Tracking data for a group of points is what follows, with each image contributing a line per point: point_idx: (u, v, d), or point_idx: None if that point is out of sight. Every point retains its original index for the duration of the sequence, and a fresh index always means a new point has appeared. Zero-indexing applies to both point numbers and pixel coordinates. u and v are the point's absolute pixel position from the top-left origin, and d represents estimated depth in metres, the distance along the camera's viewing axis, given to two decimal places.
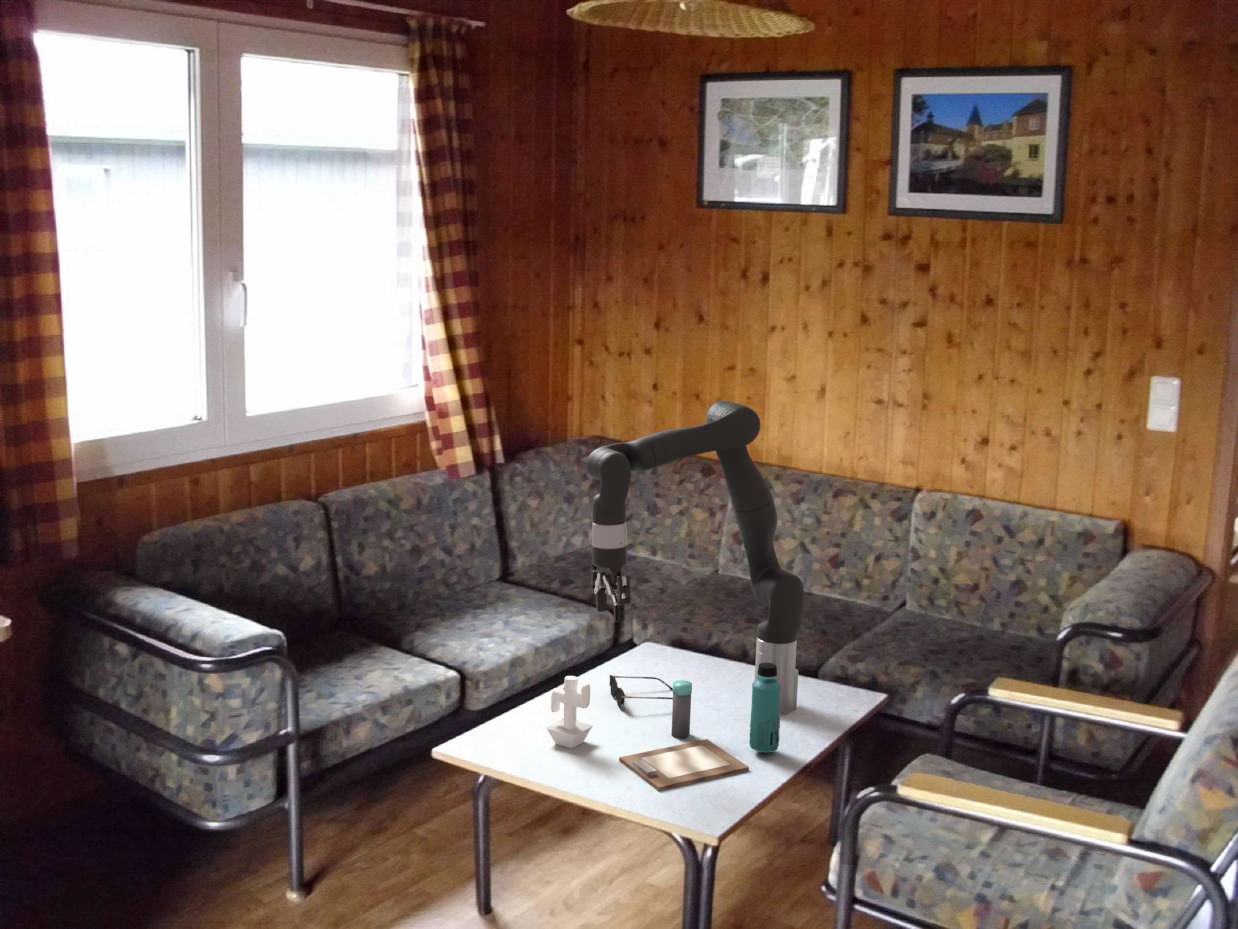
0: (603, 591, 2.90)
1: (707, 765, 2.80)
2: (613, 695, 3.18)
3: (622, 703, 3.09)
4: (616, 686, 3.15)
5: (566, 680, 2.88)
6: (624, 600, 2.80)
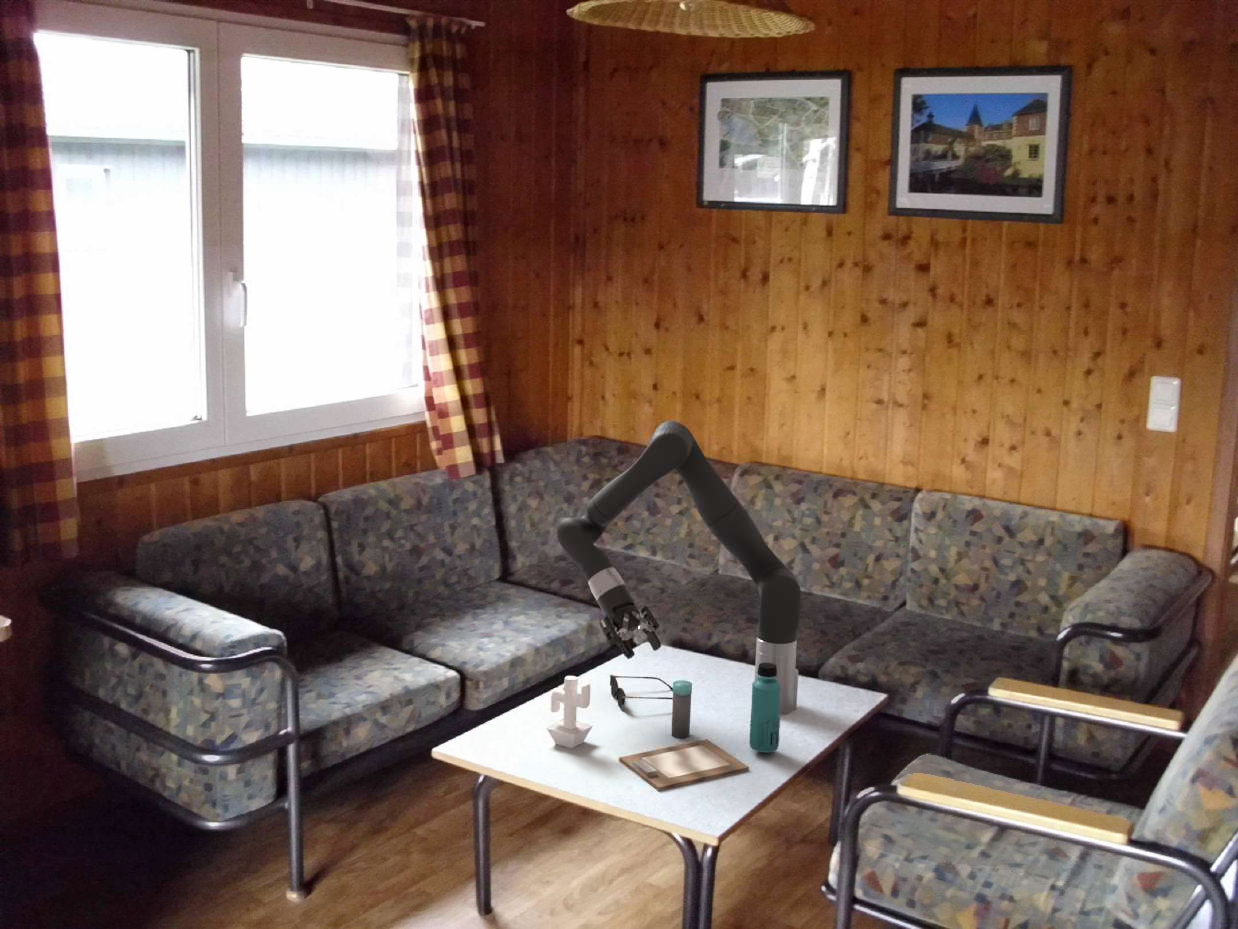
0: (649, 631, 3.06)
1: (707, 765, 2.80)
2: (614, 695, 3.18)
3: (623, 703, 3.09)
4: (617, 686, 3.15)
5: (566, 680, 2.88)
6: (611, 639, 2.99)
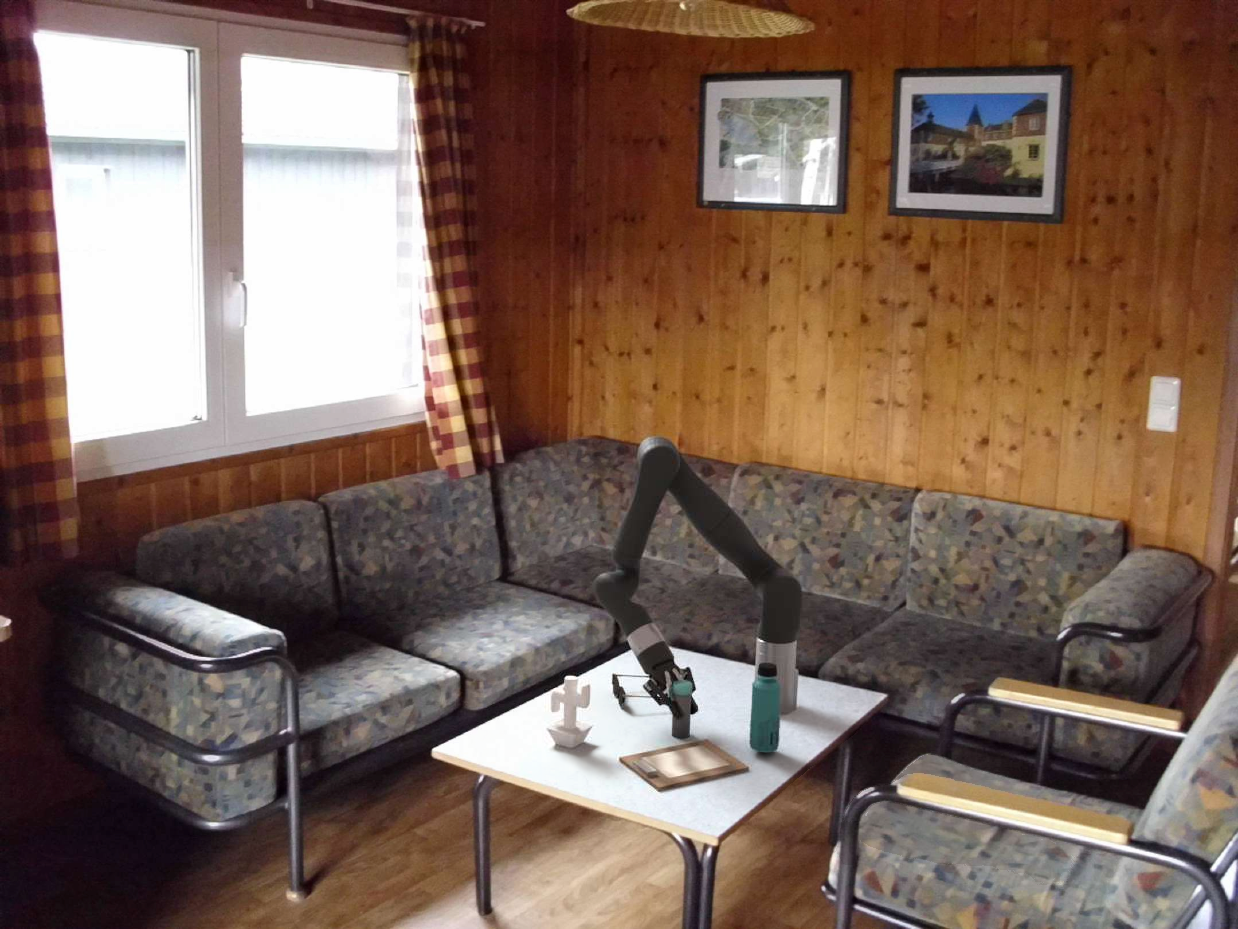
0: None
1: (707, 765, 2.80)
2: (615, 694, 3.19)
3: (623, 702, 3.10)
4: (618, 685, 3.16)
5: (566, 680, 2.88)
6: (660, 700, 2.94)
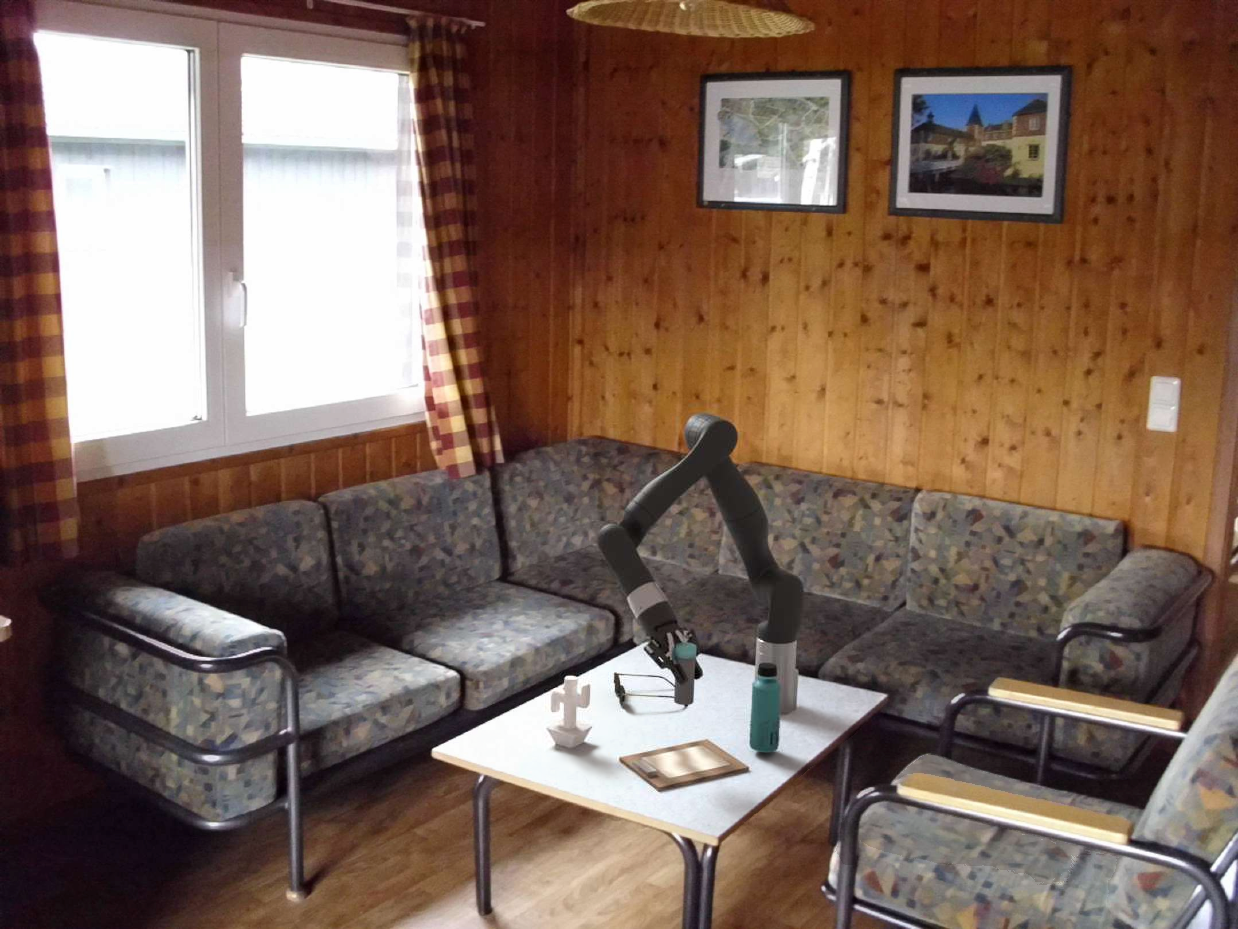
0: None
1: (707, 765, 2.80)
2: (616, 692, 3.20)
3: (623, 700, 3.11)
4: (619, 683, 3.17)
5: (566, 680, 2.88)
6: (662, 663, 2.74)
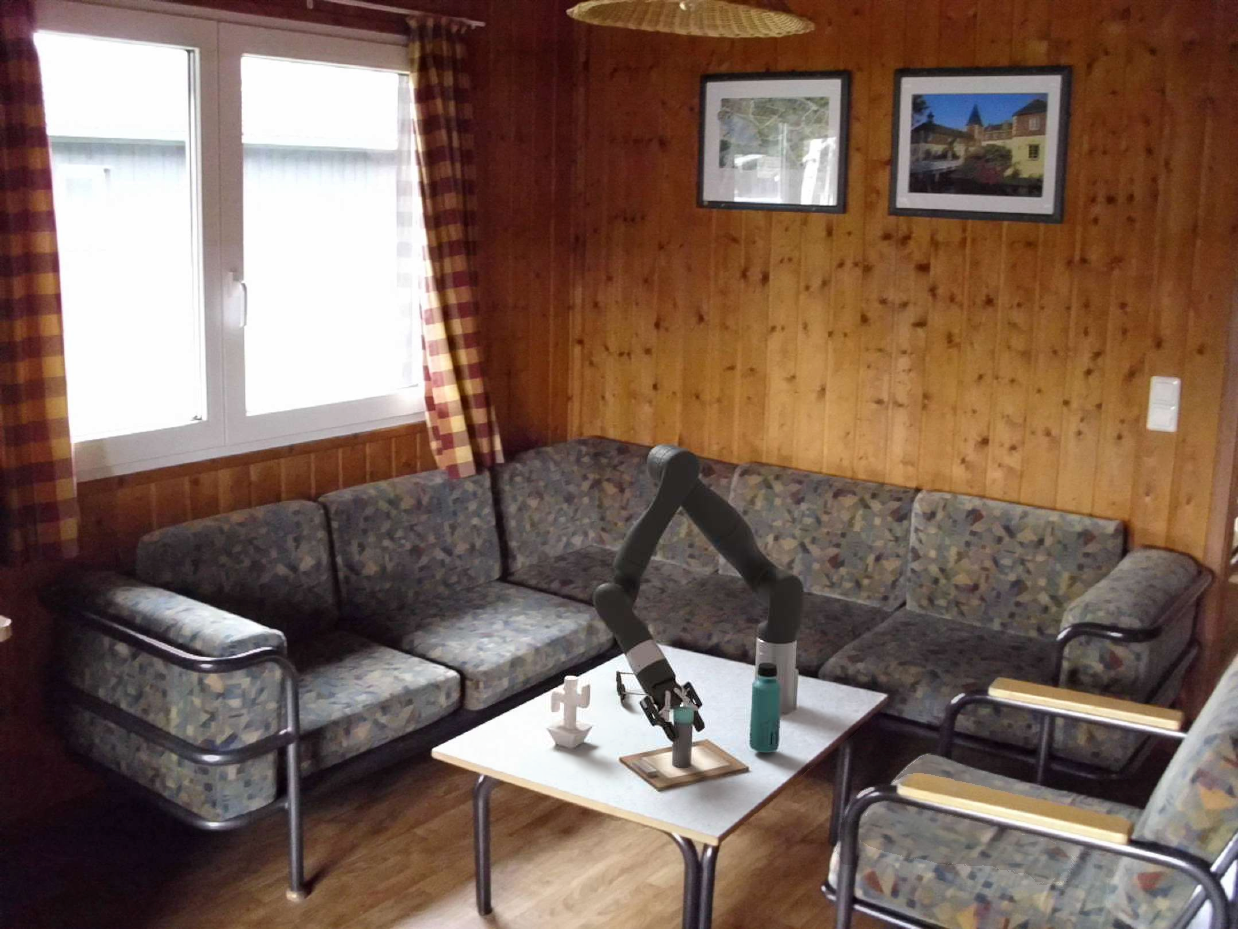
0: None
1: (707, 765, 2.80)
2: (618, 691, 3.20)
3: (623, 699, 3.12)
4: (620, 682, 3.18)
5: (566, 680, 2.88)
6: (653, 720, 2.75)
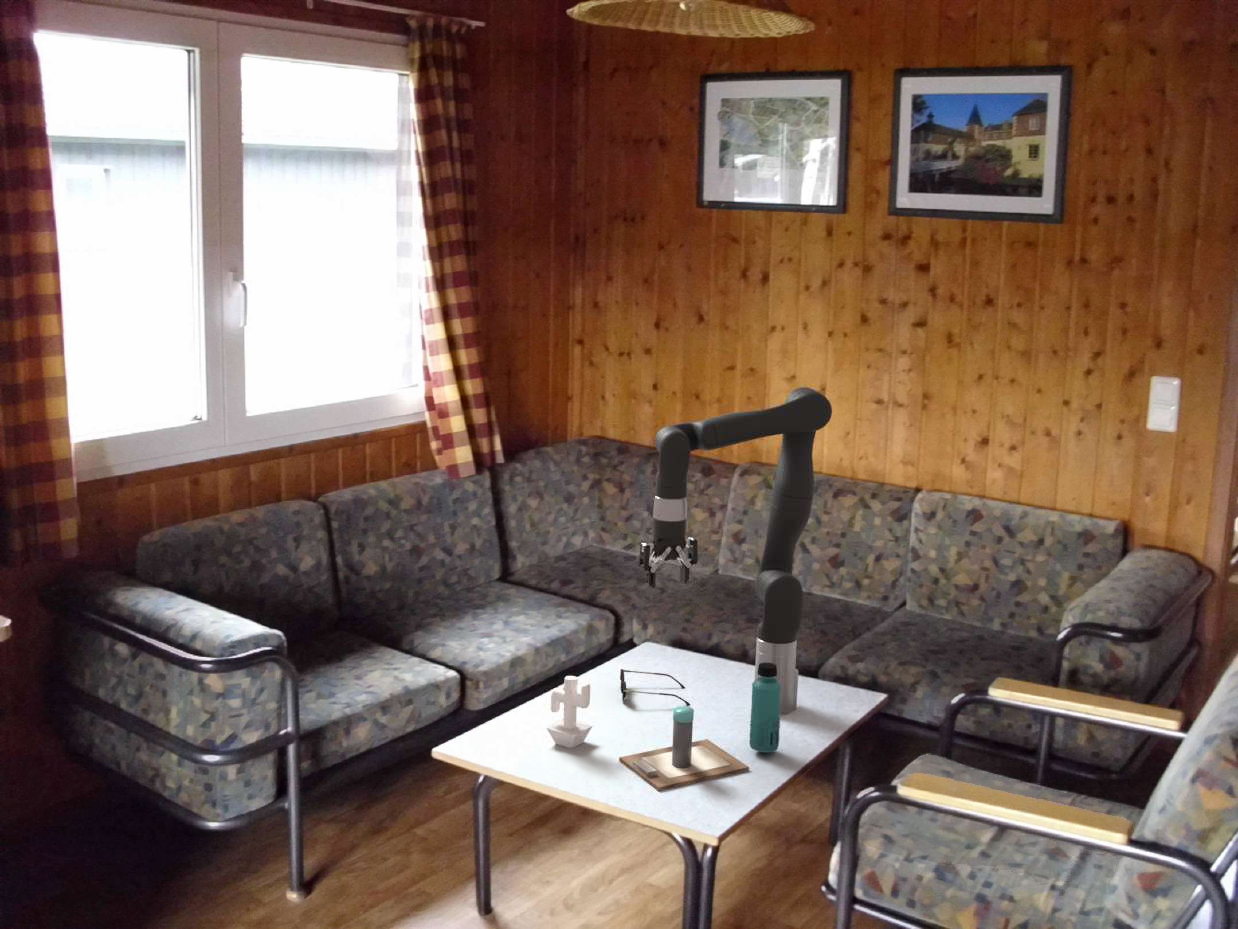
0: (684, 565, 3.06)
1: (707, 765, 2.80)
2: (621, 689, 3.22)
3: (624, 697, 3.13)
4: (623, 680, 3.19)
5: (566, 680, 2.88)
6: (641, 565, 3.01)
